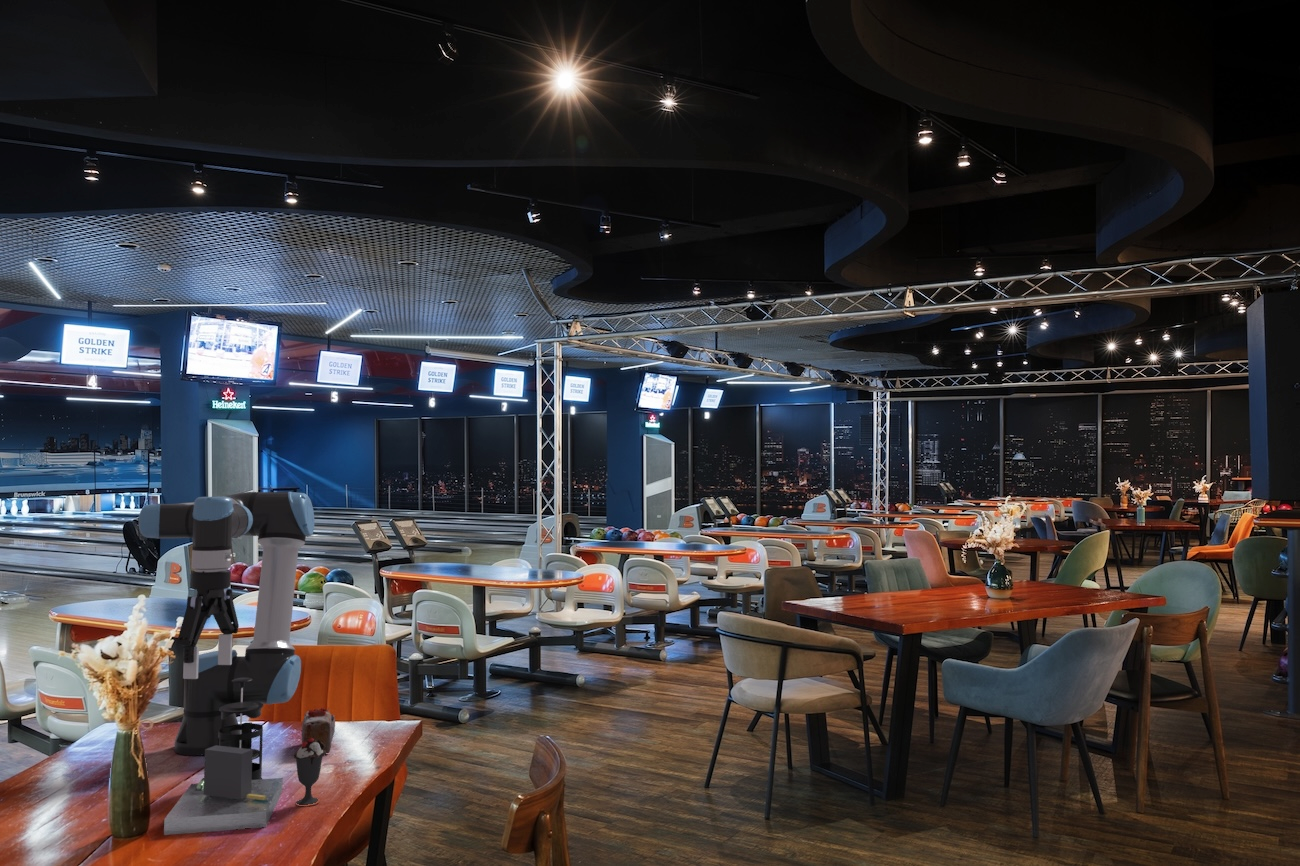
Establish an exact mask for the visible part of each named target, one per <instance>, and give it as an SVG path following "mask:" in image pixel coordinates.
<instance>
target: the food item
mask: <svg viewBox="0 0 1300 866" xmlns="http://www.w3.org/2000/svg"><path fill="white" fill-rule="evenodd" d="M329 710H330V708H329V707H328V708H326V709H325V708H323V707H322V708H319V709H318V708H317V709H316V708H314V709H310V710H308V711H305V713H304V717H303V721H302V726H301V730H300V731H301V744H302V743H303V742H304V738H305V742H306V741H307V740H308V739H309V738H308V737H310V738H313V739H314V740H316V741H317V740H320V741H321V742H322V743H323V744H324V748H323V749H322V750H325V751H326V753H330V752H331V748H332V741H333V738H334V735H335V728H336V720H335V714H331V711H329ZM306 732H307V735H308V737H307V735H306V736H305V735H304V733H306Z"/></svg>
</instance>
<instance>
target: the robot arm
mask: <svg viewBox="0 0 1300 866" xmlns="http://www.w3.org/2000/svg"><path fill="white" fill-rule="evenodd" d="M138 530H139V532H140V535H141V536H143V537H144V538H149V539H192V552H191V569H193V571H192V572H191V573H190V574H191V575H190V578H191V579H190V581H191V582H190V588H191V589H192V590H194V591H197V593H196V596H188V597H187V600H186V609H185V612H184V615H183V620H182V622H181V626H180V630H179V633H178V637H177V640H176V645H177V646H178V647H179V648H180V647H182V648H183V672H182V673H183V674H182V679H184V680H183V681H184V682H183V684H184V686H183V713H182V714H183V716H182V720H181V724H180V725H179V729H178V732H177V734H176V736H175V740H174V747H173V749H174V753H176V754H179V755H183V756H205V749H208V748H210V747H213V746H215V745H217V746H218V731H219V730H220V729H221V728H223V727H226V726H230V725H235V724H239V721H238V718H237V715H236V713H234V714H231V715H229V716H228V717H227V718H226V719H223V720H222V719H221V712H220V711H219V708H220V707H221V706H224V705H227V704H231V703H237V702H241V688H240V683H234V682H232V680H234V679H237V678H245V677H246V678H252V679H253V680H252V681H249V682H245V684H244V688H243V702H260V703H262V704H263V705H273V704H284V703H287V702H289V701H290V700H291V699H292V698H293V696H294V694H295V693H296V691H297V688H298V685H299V682H300V678H301V671H302V660H301V657H300V656H299V655H297V654H295V652H296V648H295V647H294V646H293V644H291V642H290V640H291V639H290V638H291V628H292V617H293V607H294V606H293V605H294V598H295V597H294V596H295V588H296V578H297V568H298V555H299V550H300V549H301V548H302V547H303V546H304V545H305V544H306V538H308V537H311V536H313V534H314V530H315V512H314V507H313V502H312V500H311V498H310V497H309V495H308V494H306V493H304V492H297V491H296V492H294V491H293V492H292V491H245V492H238V493H234V494H228V495H227V494H226V495H222V496H221V495H220V496H198V497H197V498H195V500H194V501H193V502H182V503H181V502H180V503H153V504H152V503H151V504H145V505H144V506H143V507H142V508H141V510H140V512H139V515H138ZM242 536H246V537H248V536H250V537H258V538H257V543H258V544H259V545H260V546H261V547H262V557H261V567H260V568H261V569H260V575H259V576H260V577H259V584H258V585H259V586H258V596H257V604H256V612H255V613H256V614H255V623H254V632H253V639H252V640H253V641H252V642H251V643H250V644H249V645H248V646H247V647H245V653H244V656H243V655H242V656H238V652H237V650H236V649H233V634H238V633H239V627H240V626H239V621H238V616H237V613H236V609H235V604H234V600H233V589H232V588H230V587H231V583H232V582H231V578H232V577H231V576H232V572H231V570H230V569H229V568H230V567H232V558H233V554H232V544H233V543H232V541H233V539H237V538H239V537H240V538H241V537H242ZM211 616H213V618H214V620H215V621H216V622H215V623H216V625H217V626H218V628H219V630H220V634H219V633H218V643H217V644H218V646H217V647H218V648H217V650H214V651H209V652H204V653H200V646H199V645H197V644H198V642H199V640H200V637H201V634H202V632H203V630H204V628H205V625H206V623H207V621H208V620H209V619H210V618H211ZM224 734H240V730H235V731H230V732H226V733H224ZM221 746H226V747H231V741H226V740H221Z"/></svg>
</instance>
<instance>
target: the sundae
mask: <svg viewBox="0 0 1300 866" xmlns="http://www.w3.org/2000/svg"><path fill="white" fill-rule="evenodd" d="M304 735H305V736H306V735H307V732H306V733H304ZM307 737H308V735H307ZM308 738H309V739H308V740H307V741H306V742H305V738H304V742H303V743H302V742H301V747H299V749H298V750H297V751H296V752H294V753H292V755H291V756H292V757H293V758H294V759H295V762H296V763H295V764H296V772H297V773H296V774H297V778H298V781H299V783H300V784H301V785H302V786H304V787H305V793H304V796H303V798H301V800H300V799H299V801H298V800H296V802H295V803H297V804H299V805H308V804H313V803H316V802H317V801H318V799H319V798H318V797H313V794H312V786H313V785H315V784H316V782H318V780H319V777H320V774H321V768H322V767H321V766H322V761H323V758H324V756H325V757H326V755H325V754H326V751H325V750H322V749H323V748H324V744H323V743H322V742H321V741H320V740H317V741H316V740H314V739H313V738H310V737H308ZM317 798H318V799H317Z"/></svg>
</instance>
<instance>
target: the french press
mask: <svg viewBox="0 0 1300 866" xmlns="http://www.w3.org/2000/svg"><path fill="white" fill-rule="evenodd" d="M252 680H253V679H252V678H246V677H245V678H237V679H234V680H232V682H234V683H240V688H241V702H237V703H231V704H227V705H224V706H221V707H220V708H219V711H220V712H221V719H222V720H223V719H226V718H227V717H228V716H229V715H231V714H234V713H235V714H239V715H240V717H239V718H240V719H239V723H238V724H235V725H230V726H226V727H223V728H221V729H220V730H219V731H218V746H221V740H226V741H231V747H235V748H244V749H253V750H252V780H259V779H263V778H262V774H263V773H262V770H263V769H262V768H263V767H262V765H263V738H264V737H263V734H264V732H263V731H264V729H263V728H264V726H263V725H261V724H259V723H253V722H243V716H246V717H248V718H249V719H257V718H259V717H261V716H262V709H263V708H264V704H262V703H260V702H243V688H244V684H245V682H249V681H252ZM235 730H240V734H224V733H226V732H230V731H235ZM258 737H259V749H255V748H252V746H253V745H252V742H253V740H252V739H254V738H258ZM255 759H256V760H257V759H258V762H253V760H255Z"/></svg>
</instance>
